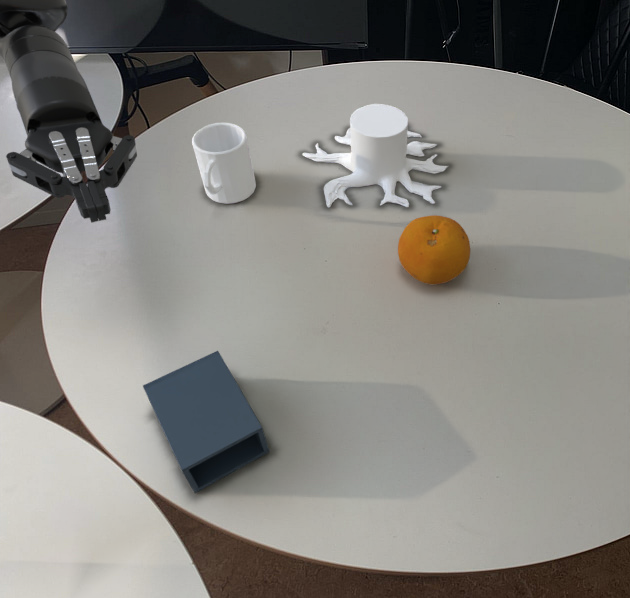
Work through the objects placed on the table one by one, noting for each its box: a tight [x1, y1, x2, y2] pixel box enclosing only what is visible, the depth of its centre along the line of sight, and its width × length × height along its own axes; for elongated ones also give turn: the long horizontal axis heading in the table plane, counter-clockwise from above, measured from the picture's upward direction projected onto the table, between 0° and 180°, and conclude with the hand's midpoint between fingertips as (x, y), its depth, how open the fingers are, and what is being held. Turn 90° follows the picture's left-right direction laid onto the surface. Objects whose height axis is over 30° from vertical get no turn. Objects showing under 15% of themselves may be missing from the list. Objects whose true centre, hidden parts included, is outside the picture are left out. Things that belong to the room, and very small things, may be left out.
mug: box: [191, 122, 257, 205], centre depth 94 cm, size 8×12×10 cm
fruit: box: [397, 214, 471, 286], centre depth 86 cm, size 10×10×8 cm
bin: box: [142, 350, 270, 494], centre depth 68 cm, size 6×9×12 cm
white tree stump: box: [302, 103, 449, 208], centre depth 100 cm, size 23×25×9 cm
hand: (98, 215), depth 60 cm, fingers closed
